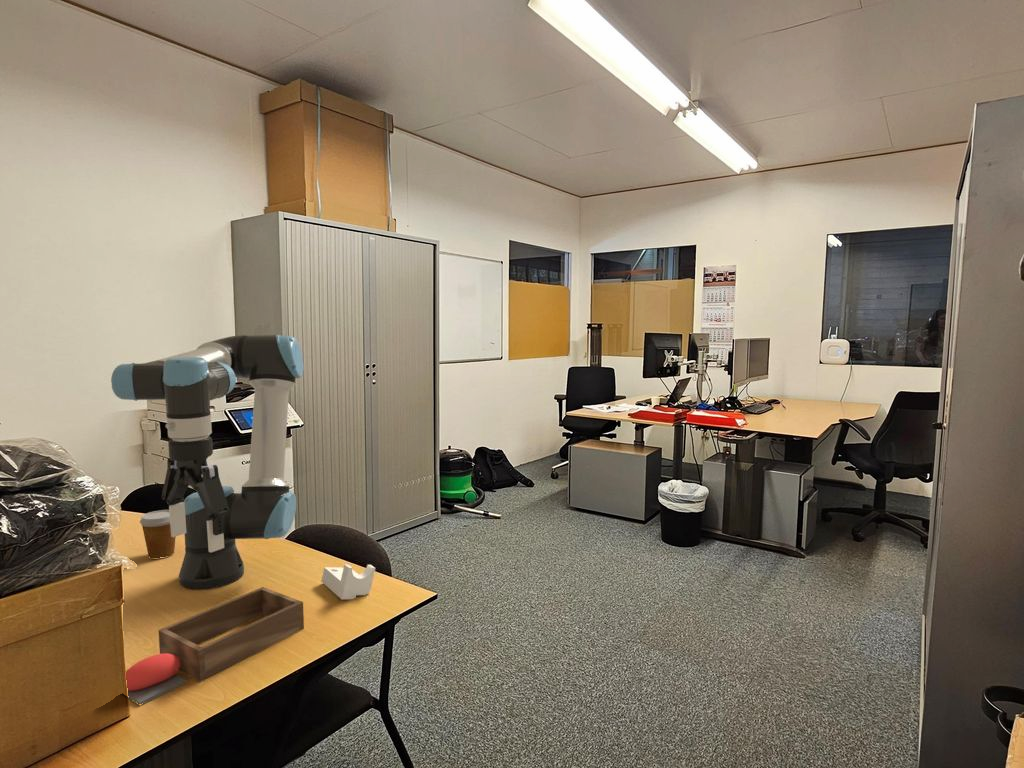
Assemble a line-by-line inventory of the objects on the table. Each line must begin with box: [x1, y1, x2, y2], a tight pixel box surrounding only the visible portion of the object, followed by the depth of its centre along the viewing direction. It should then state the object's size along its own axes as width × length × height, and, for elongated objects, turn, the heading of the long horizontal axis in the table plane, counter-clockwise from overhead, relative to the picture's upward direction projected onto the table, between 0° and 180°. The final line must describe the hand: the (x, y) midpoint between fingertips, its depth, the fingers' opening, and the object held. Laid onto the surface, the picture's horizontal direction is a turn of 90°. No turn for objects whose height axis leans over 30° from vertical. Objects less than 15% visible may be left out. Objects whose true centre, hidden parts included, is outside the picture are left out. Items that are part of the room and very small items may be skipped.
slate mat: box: [128, 673, 187, 705], centre depth 107 cm, size 8×8×1 cm
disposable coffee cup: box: [139, 509, 177, 559], centre depth 169 cm, size 10×10×12 cm
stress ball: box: [125, 653, 181, 691], centre depth 107 cm, size 5×9×6 cm, turn 125°
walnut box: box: [158, 586, 305, 682], centre depth 122 cm, size 14×23×6 cm, turn 148°
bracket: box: [320, 564, 376, 600], centre depth 148 cm, size 13×7×8 cm, turn 39°
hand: (197, 542), depth 117 cm, fingers open, 13 cm apart
